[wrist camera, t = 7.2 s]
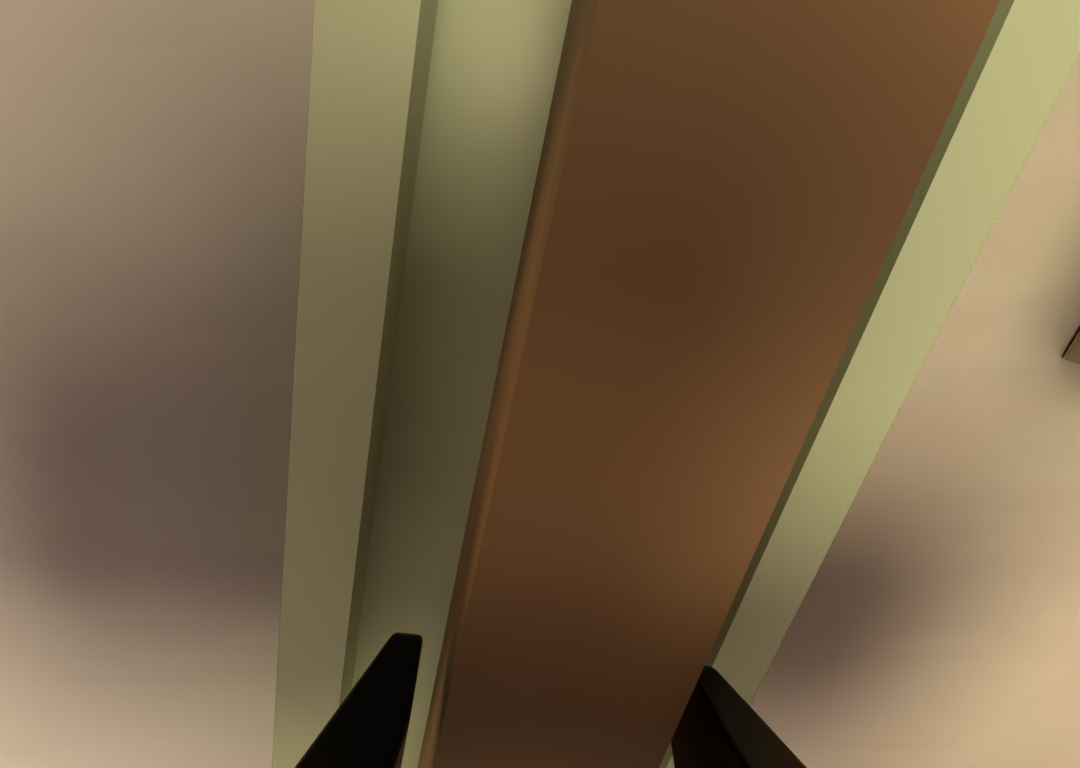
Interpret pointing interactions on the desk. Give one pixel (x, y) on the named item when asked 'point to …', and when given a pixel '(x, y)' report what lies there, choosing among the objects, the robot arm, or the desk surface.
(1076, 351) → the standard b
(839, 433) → the tray
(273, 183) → the desk surface
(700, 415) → the rail
